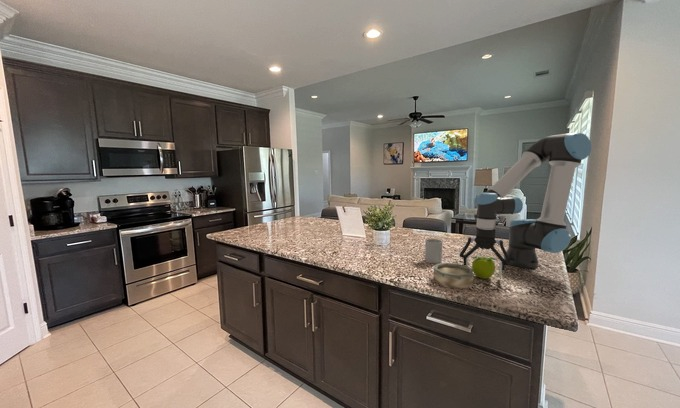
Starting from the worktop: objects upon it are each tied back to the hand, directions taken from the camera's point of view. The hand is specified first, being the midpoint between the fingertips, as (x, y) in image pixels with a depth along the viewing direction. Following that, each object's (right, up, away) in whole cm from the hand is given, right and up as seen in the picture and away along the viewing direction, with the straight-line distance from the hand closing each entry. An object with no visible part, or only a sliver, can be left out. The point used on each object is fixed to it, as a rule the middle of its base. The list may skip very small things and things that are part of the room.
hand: (482, 274), depth 128 cm
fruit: (0, -2, 0) cm, 2 cm away
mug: (-13, +1, +25) cm, 29 cm away
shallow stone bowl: (-15, -2, -4) cm, 16 cm away
